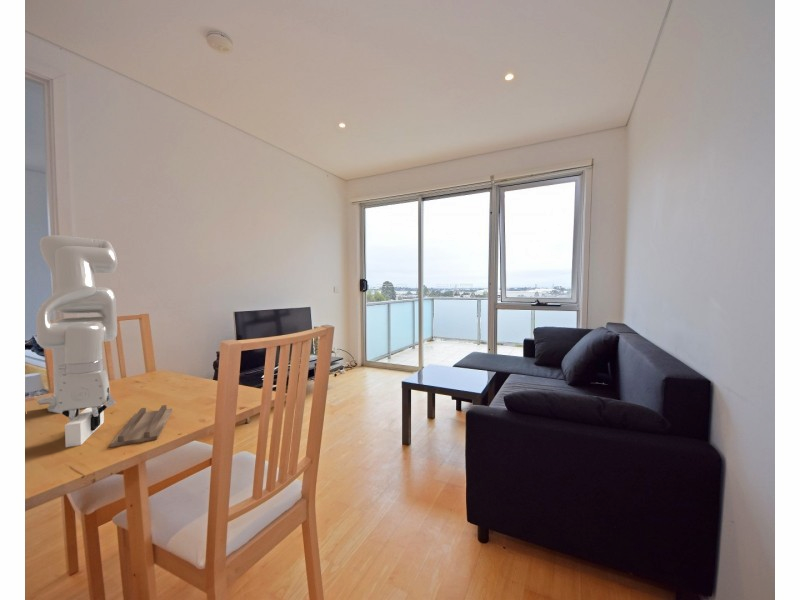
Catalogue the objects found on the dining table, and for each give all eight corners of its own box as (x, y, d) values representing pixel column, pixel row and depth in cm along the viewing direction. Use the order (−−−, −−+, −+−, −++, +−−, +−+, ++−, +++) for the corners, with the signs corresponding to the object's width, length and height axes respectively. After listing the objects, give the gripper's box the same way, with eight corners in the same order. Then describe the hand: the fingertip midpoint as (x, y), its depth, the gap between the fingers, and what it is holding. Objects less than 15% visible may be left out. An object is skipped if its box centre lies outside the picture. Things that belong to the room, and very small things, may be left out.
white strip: (65, 447, 83) (65, 425, 83) (91, 423, 97) (90, 404, 97) (80, 444, 84) (80, 423, 84) (103, 421, 98) (103, 403, 98)
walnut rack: (110, 447, 83) (110, 438, 83) (135, 416, 103) (135, 409, 103) (157, 439, 88) (156, 430, 88) (172, 411, 107) (172, 404, 107)
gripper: (36, 373, 83) (39, 441, 84) (116, 367, 90) (118, 429, 91) (51, 367, 89) (53, 430, 90) (125, 361, 97) (126, 419, 98)
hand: (86, 429), depth 91 cm, fingers closed on white strip, 3 cm apart
